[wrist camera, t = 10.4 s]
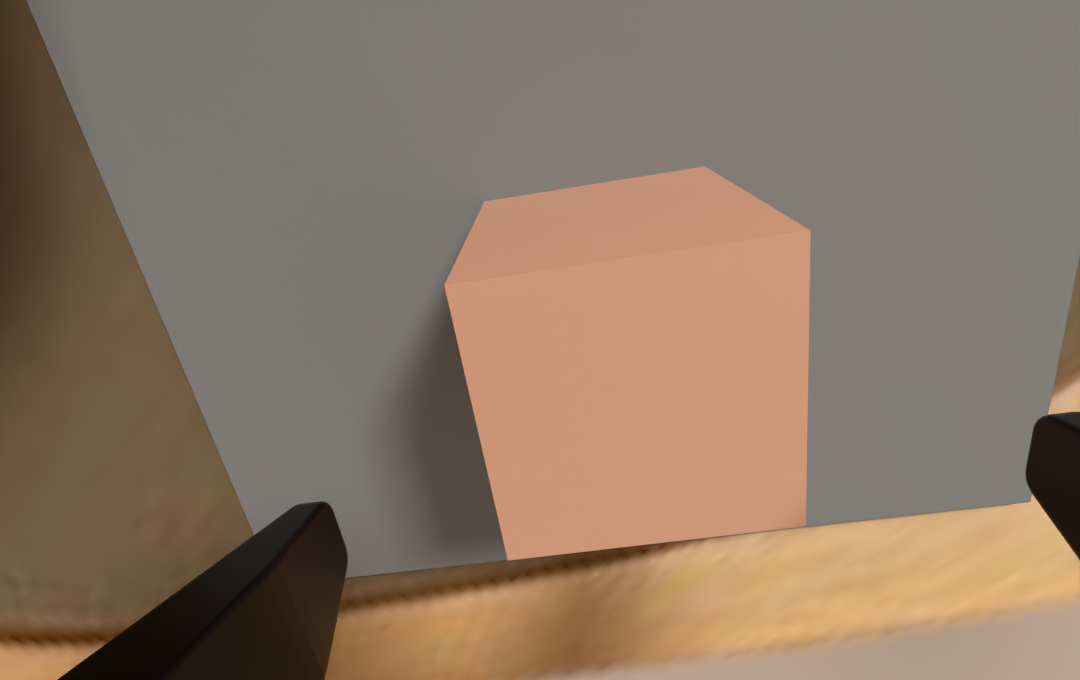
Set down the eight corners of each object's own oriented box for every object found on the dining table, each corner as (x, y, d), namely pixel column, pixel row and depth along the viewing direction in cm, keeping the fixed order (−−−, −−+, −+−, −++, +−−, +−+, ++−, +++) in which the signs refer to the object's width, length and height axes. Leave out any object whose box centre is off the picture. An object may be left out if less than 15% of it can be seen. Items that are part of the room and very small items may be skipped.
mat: (279, 578, 19) (275, 585, 19) (34, -6, 13) (22, -7, 13) (1022, 495, 18) (1030, 501, 17) (1160, -215, 11) (1175, -223, 11)
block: (521, 392, 16) (507, 560, 11) (484, 201, 14) (444, 285, 9) (715, 366, 16) (805, 525, 10) (705, 166, 14) (810, 230, 8)
